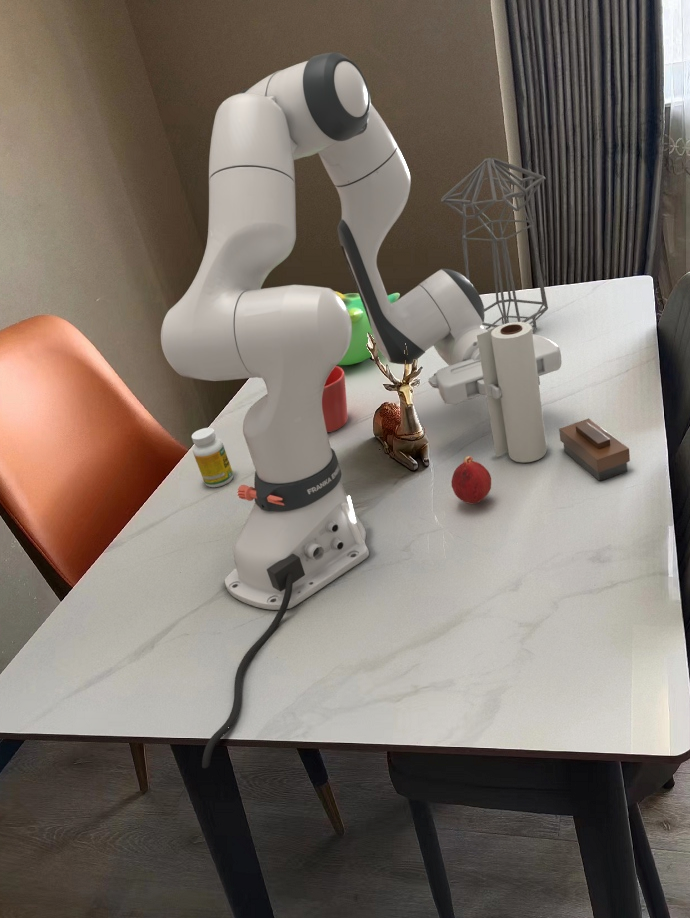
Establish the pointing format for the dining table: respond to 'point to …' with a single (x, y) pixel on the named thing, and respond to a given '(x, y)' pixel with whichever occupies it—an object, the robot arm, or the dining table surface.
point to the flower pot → (334, 400)
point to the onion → (471, 481)
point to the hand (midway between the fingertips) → (518, 387)
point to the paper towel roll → (513, 391)
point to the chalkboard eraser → (595, 449)
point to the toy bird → (358, 328)
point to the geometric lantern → (477, 182)
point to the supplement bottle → (211, 458)
